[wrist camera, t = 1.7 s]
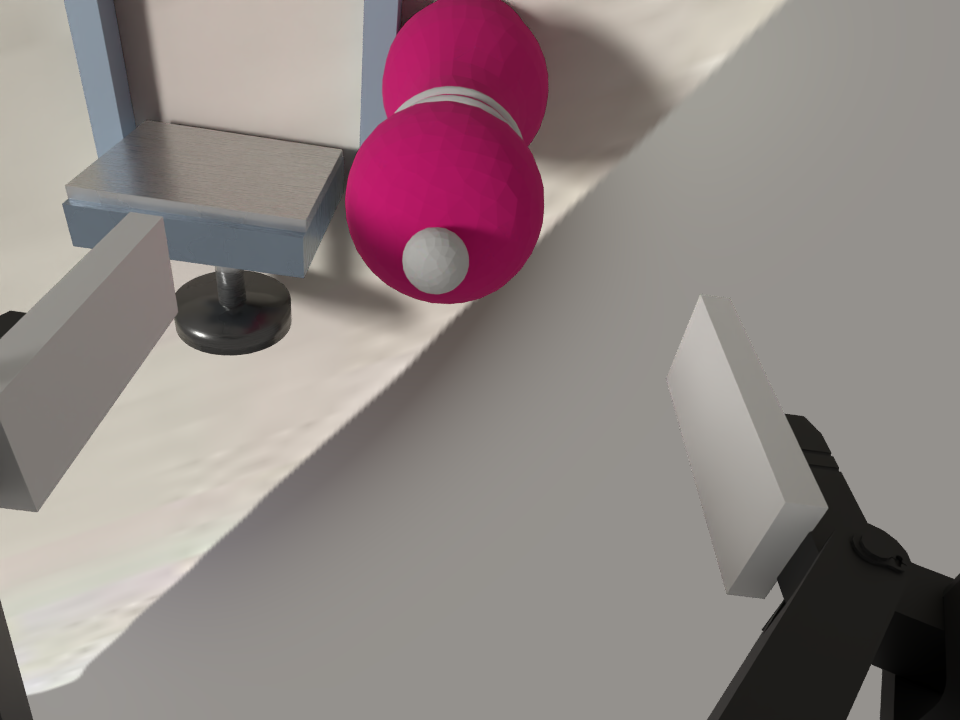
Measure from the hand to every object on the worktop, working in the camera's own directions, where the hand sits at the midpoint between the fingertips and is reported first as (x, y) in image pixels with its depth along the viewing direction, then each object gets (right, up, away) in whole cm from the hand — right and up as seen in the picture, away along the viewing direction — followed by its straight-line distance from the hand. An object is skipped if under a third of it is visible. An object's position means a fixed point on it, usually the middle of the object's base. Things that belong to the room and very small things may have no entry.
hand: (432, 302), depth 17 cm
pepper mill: (+1, +13, +16) cm, 21 cm away
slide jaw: (-11, +7, +21) cm, 25 cm away
